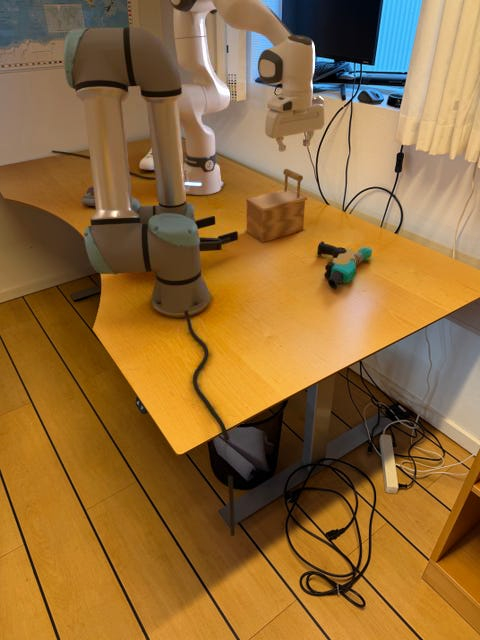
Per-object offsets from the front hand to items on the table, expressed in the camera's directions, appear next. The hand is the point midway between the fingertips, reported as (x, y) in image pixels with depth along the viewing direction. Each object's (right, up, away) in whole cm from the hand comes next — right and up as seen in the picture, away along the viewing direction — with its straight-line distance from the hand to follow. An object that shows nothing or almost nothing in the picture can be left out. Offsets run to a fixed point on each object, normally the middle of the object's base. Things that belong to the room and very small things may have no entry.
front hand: (225, 227), depth 149 cm
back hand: (+21, +24, -1) cm, 33 cm away
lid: (+16, +10, +5) cm, 20 cm away
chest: (+16, +1, +11) cm, 20 cm away
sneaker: (-33, +42, +69) cm, 88 cm away
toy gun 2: (+32, -14, -10) cm, 37 cm away
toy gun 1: (-46, +16, +33) cm, 59 cm away
